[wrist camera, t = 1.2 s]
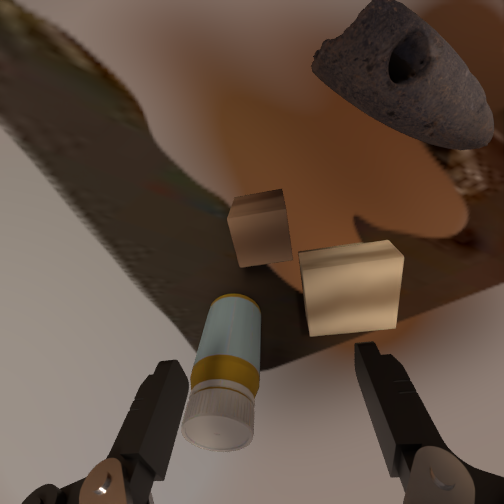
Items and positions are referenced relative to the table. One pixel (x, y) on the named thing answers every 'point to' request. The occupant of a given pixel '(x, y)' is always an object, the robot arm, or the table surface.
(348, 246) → the plinth
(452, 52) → the perforated stone tool
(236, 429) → the bottle
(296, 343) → the table surface
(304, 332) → the table surface
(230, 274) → the table surface
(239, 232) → the walnut block
